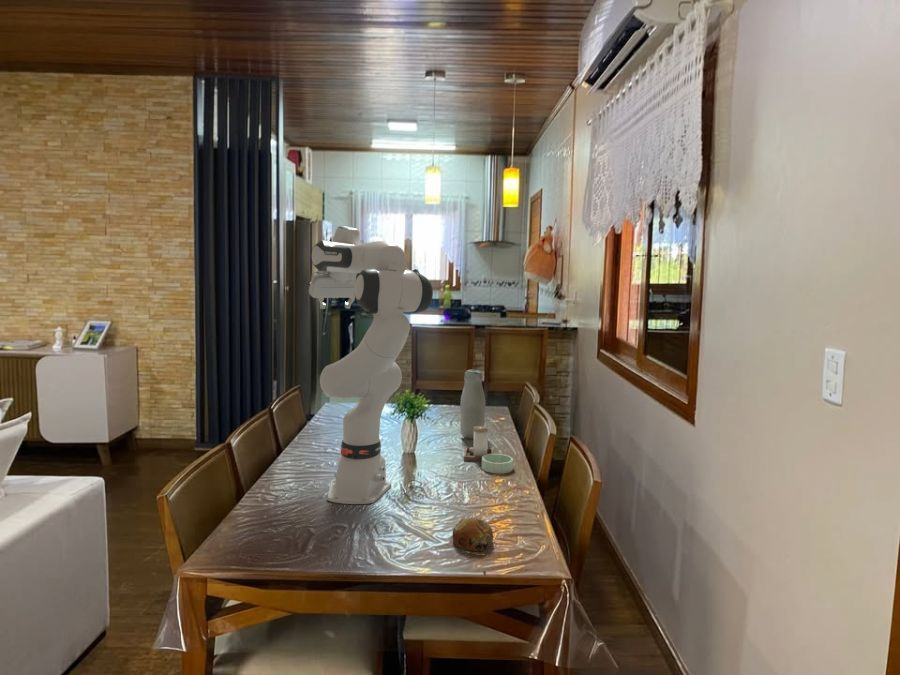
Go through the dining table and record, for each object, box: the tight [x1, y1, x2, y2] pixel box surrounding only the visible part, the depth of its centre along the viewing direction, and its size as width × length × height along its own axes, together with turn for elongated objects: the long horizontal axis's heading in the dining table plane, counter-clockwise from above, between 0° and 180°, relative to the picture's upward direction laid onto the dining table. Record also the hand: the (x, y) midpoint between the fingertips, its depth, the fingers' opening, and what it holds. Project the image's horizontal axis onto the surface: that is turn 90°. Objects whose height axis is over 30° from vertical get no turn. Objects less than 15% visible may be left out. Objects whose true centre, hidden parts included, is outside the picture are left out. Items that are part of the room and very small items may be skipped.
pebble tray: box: [463, 447, 494, 463], centre depth 217 cm, size 11×10×2 cm
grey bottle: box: [459, 369, 486, 440], centre depth 241 cm, size 10×10×28 cm
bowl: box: [481, 453, 514, 474], centre depth 205 cm, size 10×10×4 cm
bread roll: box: [452, 516, 494, 552], centre depth 151 cm, size 10×10×8 cm
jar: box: [472, 425, 489, 457], centre depth 215 cm, size 5×5×11 cm
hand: (334, 308), depth 216 cm, fingers open, 8 cm apart
